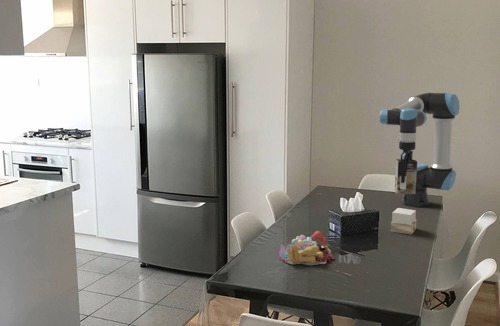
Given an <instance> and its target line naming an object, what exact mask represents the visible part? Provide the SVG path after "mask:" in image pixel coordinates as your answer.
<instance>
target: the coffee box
mask: <svg viewBox="0 0 500 326" xmlns="http://www.w3.org/2000/svg"><path fill="white" fill-rule="evenodd" d="M395 160H396V162H395V172H394V173H395V176H394V192H395V194H397V195H404V194H415V191H416V175H417V164H418V161H417V160H416V159H412V160H409V162H408V163H407V172H406V176H407V179H406V190H405V189H400V177H401V176H399V173H400V162H401V158H397V159H395Z"/></svg>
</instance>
